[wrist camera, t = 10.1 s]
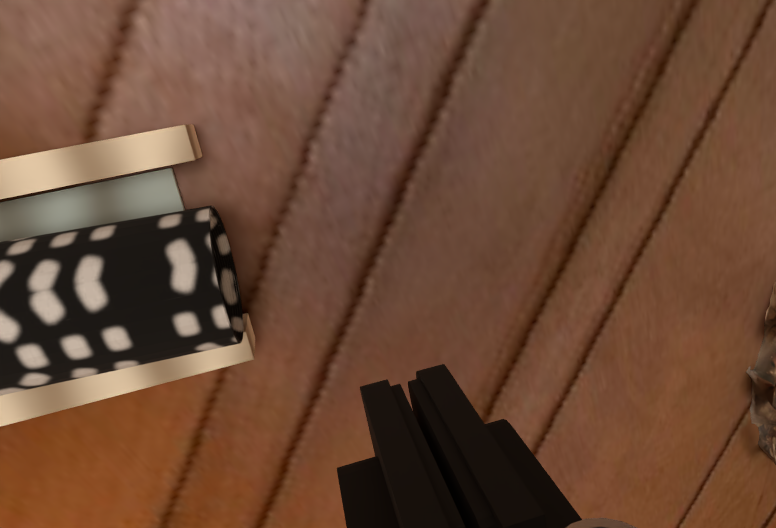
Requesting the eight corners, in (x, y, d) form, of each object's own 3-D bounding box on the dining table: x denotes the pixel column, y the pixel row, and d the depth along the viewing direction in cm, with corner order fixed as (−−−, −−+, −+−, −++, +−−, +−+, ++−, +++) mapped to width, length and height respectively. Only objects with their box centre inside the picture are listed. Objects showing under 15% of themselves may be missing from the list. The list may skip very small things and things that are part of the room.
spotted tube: (245, 373, 30) (-153, 463, 26) (242, 291, 36) (-74, 354, 33) (206, 250, 25) (-281, 341, 22) (212, 183, 32) (-159, 244, 29)
